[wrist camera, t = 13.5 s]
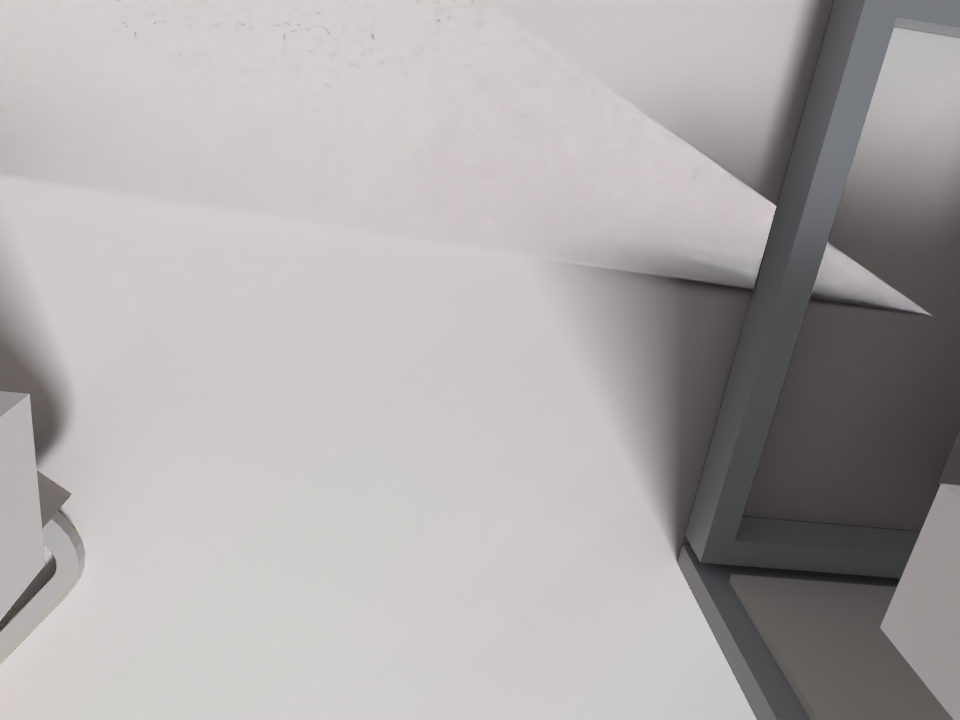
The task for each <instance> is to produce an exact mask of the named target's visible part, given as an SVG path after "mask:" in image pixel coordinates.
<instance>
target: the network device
mask: <svg viewBox="0 0 960 720" xmlns="http://www.w3.org/2000/svg"><path fill="white" fill-rule="evenodd" d="M37 478H38V489H39V500H40V511H41V521H42V532H43V543H44V545H45V546H46V547H47V548H48V549H49V550H50V551H51V552H52V553H53V555H54V557H55V560H56V564H57V566H56V572H55V574H54V575H53V576H52V577H51V578H50V579H49V580H48V581H47V582H46V583H45V584H44V585H43V586H42V587H41V588H40V589H39V591H38V592H37V593H36V594H35V595H34V596H33V597H32V598H31V599H30V600H29V601H28V602H27V603H26V604H25V605H24V606H23V607H22V608H21V609H20V610H19V611H18V612H17V613H16V615H15V616H14V617H13V618H12V619H11V620H10V621H9V622H8V623H7V624H6V625H5V626H4V627H3V628H2V629H1V630H0V664H1V663H2V662H3V661H4V660H5V659H6V658H7V657H8V656H9V655H10V654H11V653H12V652H13V651H14V650H15V649H16V648H17V647H18V646H19V645H20V644H21V643H22V642H23V641H24V640H25V639H26V638H27V637H28V636H29V635H30V634H31V633H32V632H33V631H34V630H35V628H36V627H37V626H38V625H39V624H40V623H41V622H42V621H43V620H44V619H45V618H46V617H47V616H48V615H49V614H50V613H51V612H52V611H53V610H54V609H55V608H56V607H57V606H58V605H59V604H60V603H61V602H62V601H63V600H64V599H65V598H66V597H67V595H68V594H69V593H70V591H71V590H72V589H73V587H74V586H75V584H76V583H77V582H78V580H79V579H80V577H81V574H82V571H83V569H84V562H85V552H84V548H83V543H82V540H81V538H80V536H79V534H78V532H77V530H76V529H75V527H74V526H73V525H72V524H71V522H70V521H69V520H68V519H67V518H66V517H65V516H64V515H63V514H62V513H60V512H59V511H58V510H59V509H60V507H61V506H62V505H63V504H64V503H65V502H66V500H67V499H68V498H69V497H70V496H71V493H69V492H68V491H67V490H65V489H64V488H62V487H61V486H59V485H58V484H56V483H55V482H53V481H52V480H50V479H49V478H47V477H46V476H44V475H43V474H42V473H40V472H39V471H37Z"/></svg>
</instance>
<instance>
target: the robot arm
mask: <svg viewBox="0 0 960 720" xmlns="http://www.w3.org/2000/svg"><path fill="white" fill-rule="evenodd" d="M44 565H45V554H44V543H43V532H42V521H41V511H40V500H39V489H38V478H37V467H36V457H35V446H34V435H33V424H32V413H31V403H30V394H27V393H17V392H7V391H0V621H1V620H2V618H3V617H4V616H5V615H6V613H7V612H8V611H9V610H10V608H11V607H12V606H13V604H14V603H15V602H16V601H17V599H18V598H19V597H20V596H21V594H22V593H23V592H24V591H25V589H26V588H27V587H28V586H29V584H30V583H31V582H32V580H33V579H34V578H35V577H36V575H37V574H38V573H39V572H40V570H41V569H42V568H43V567H44ZM880 628H881V629H882V631H883V632H884V633H885V634H886V636H887V637H888V638H889V639H890V641H891V642H892V643H893V644H894V646H895V647H896V648H897V650H898V651H899V652H900V653H901V655H902V656H903V657H904V658H905V660H906V661H907V662H908V663H909V665H910V666H911V667H912V668H913V670H914V671H915V672H916V673H917V675H918V676H919V677H920V678H921V680H922V681H923V682H924V683H925V685H926V686H927V687H928V688H929V690H930V691H931V692H932V693H933V695H934V696H935V697H936V698H937V700H938V701H939V702H940V703H941V705H942V706H943V707H944V709H945V710H946V711H947V712H948V714H949V715H950V716H951V717H952V719H953V720H960V485H951V484H941V485H940V487H939V490H938V492H937V494H936V497H935V499H934V501H933V504H932V506H931V508H930V511H929V513H928V515H927V518H926V520H925V523H924V525H923V527H922V530H921V532H920V534H919V537H918V539H917V541H916V544H915V546H914V548H913V551H912V553H911V556H910V558H909V560H908V563H907V565H906V567H905V570H904V572H903V574H902V577H901V579H900V581H899V584H898V586H897V588H896V591H895V593H894V596H893V598H892V600H891V603H890V605H889V607H888V610H887V612H886V614H885V617H884V619H883V621H882V624H881V626H880Z"/></svg>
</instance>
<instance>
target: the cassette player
mask: <svg viewBox="0 0 960 720" xmlns="http://www.w3.org/2000/svg"><path fill="white" fill-rule="evenodd" d="M938 484H940V485H941V484H951V485H960V430H959V433H958V435H957V437H956V440H955V442H954V445H953V447H952V450H951V452H950V455H949V457H948V459H947V462H946V464H945V467H944V469H943V472H942V474H941V476H940V479H939V481H938Z"/></svg>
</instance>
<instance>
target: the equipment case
mask: <svg viewBox="0 0 960 720" xmlns="http://www.w3.org/2000/svg"><path fill="white" fill-rule="evenodd" d="M894 27H896V28H902V29H908V30H914V31H920V32H926V33H932V34H938V35H944V36H950V37H956V38H960V0H834V4H833V7H832V11H831V14H830V18H829V22H828V25H827V29H826V32H825V36H824V39H823V43H822V47H821V50H820V54H819V57H818V61H817V64H816V68H815V72H814V75H813V79H812V82H811V86H810V90H809V93H808V97H807V100H806V104H805V107H804V111H803V115H802V118H801V122H800V125H799V129H798V132H797V136H796V140H795V143H794V147H793V150H792V154H791V157H790V161H789V165H788V168H787V172H786V175H785V179H784V182H783V186H782V190H781V193H780V197H779V200H778V204H777V207H776V211H775V215H774V218H773V222H772V225H771V229H770V232H769V236H768V240H767V243H766V247H765V250H764V254H763V258H762V261H761V265H760V268H759V272H758V275H757V279H756V283H755V286H754V290H753V293H752V297H751V300H750V304H749V308H748V311H747V315H746V318H745V322H744V325H743V329H742V333H741V336H740V340H739V343H738V347H737V350H736V354H735V358H734V361H733V365H732V368H731V372H730V375H729V379H728V383H727V386H726V390H725V393H724V397H723V401H722V404H721V408H720V411H719V415H718V418H717V422H716V426H715V429H714V433H713V436H712V440H711V443H710V447H709V451H708V454H707V458H706V461H705V465H704V468H703V472H702V476H701V479H700V483H699V486H698V490H697V493H696V497H695V501H694V504H693V508H692V511H691V515H690V518H689V522H688V526H687V529H686V533H685V536H686V538H687V539H688V541H689V543H690V545H685V544H682V547H681V551H680V554H679V558H678V561H677V563H678V565H679V567H680V569H681V571H682V573H683V575H684V577H685V579H686V581H687V583H688V585H689V587H690V589H691V591H692V593H693V595H694V597H695V599H696V601H697V603H698V605H699V607H700V609H701V611H702V613H703V615H704V617H705V618H706V620H707V622H708V624H709V626H710V628H711V630H712V632H713V634H714V636H715V638H716V640H717V642H718V644H719V646H720V648H721V650H722V652H723V654H724V656H725V658H726V660H727V662H728V664H729V666H730V668H731V670H732V671H733V673H734V675H735V677H736V679H737V681H738V683H739V685H740V687H741V689H742V691H743V693H744V695H745V697H746V699H747V701H748V703H749V705H750V707H751V709H752V711H753V713H754V715H755V717H756V719H757V720H953V719H952V717H951V716H950V715H949V714H948V712H947V711H946V710H945V709H944V707H943V706H942V705H941V703H940V702H939V701H938V700H937V698H936V697H935V696H934V695H933V693H932V692H931V691H930V690H929V688H928V687H927V686H926V685H925V683H924V682H923V681H922V680H921V678H920V677H919V676H918V675H917V673H916V672H915V671H914V670H913V668H912V667H911V666H910V665H909V663H908V662H907V661H906V660H905V658H904V657H903V656H902V655H901V653H900V652H899V651H898V650H897V648H896V647H895V646H894V644H893V643H892V642H891V641H890V639H889V638H888V637H887V636H886V634H885V633H884V632H883V631H882V629H881V628H880V626H881V624H882V621H883V619H884V617H885V614H886V612H887V610H888V607H889V605H890V603H891V600H892V598H893V596H894V593H895V591H896V588H897V586H898V584H899V581H900V579H901V577H902V574H903V572H904V570H905V567H906V565H907V563H908V560H909V558H910V556H911V553H912V551H913V548H914V546H915V544H916V541H917V539H918V537H919V534H920V532H916V531H904V530H893V529H881V528H870V527H858V526H847V525H836V524H824V523H813V522H801V521H790V520H778V519H767V518H756V517H744V516H743V513H744V510H745V507H746V503H747V500H748V497H749V494H750V490H751V487H752V484H753V481H754V477H755V474H756V471H757V468H758V465H759V461H760V458H761V455H762V452H763V448H764V445H765V442H766V439H767V435H768V432H769V429H770V426H771V422H772V419H773V416H774V413H775V410H776V406H777V403H778V400H779V397H780V393H781V390H782V387H783V384H784V380H785V377H786V374H787V371H788V367H789V364H790V361H791V358H792V355H793V351H794V348H795V345H796V342H797V338H798V335H799V332H800V329H801V325H802V322H803V319H804V316H805V313H806V309H807V306H808V303H809V300H810V296H811V293H812V290H813V287H814V283H815V280H816V277H817V274H818V270H819V267H820V264H821V261H822V258H823V254H824V251H825V248H826V245H827V241H828V238H829V235H830V232H831V228H832V225H833V222H834V219H835V215H836V212H837V209H838V206H839V203H840V199H841V196H842V193H843V190H844V186H845V183H846V180H847V177H848V173H849V170H850V167H851V164H852V161H853V157H854V154H855V151H856V148H857V144H858V141H859V138H860V135H861V131H862V128H863V125H864V122H865V118H866V115H867V112H868V109H869V106H870V102H871V99H872V96H873V93H874V89H875V86H876V83H877V80H878V76H879V73H880V70H881V67H882V63H883V60H884V57H885V54H886V51H887V47H888V44H889V41H890V38H891V34H892V31H893V28H894Z"/></svg>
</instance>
